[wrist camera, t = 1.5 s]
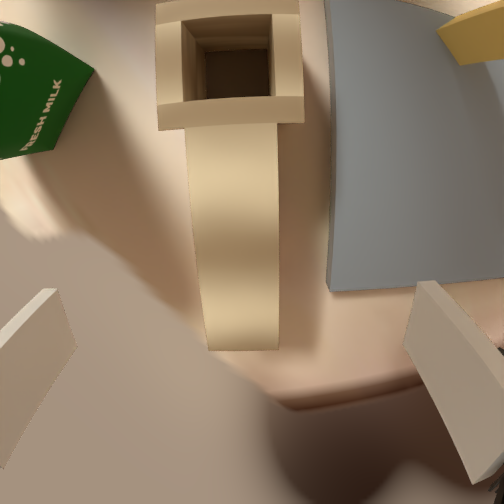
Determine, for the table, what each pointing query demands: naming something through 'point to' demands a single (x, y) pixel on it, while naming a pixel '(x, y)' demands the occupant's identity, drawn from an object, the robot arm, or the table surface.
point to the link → (232, 155)
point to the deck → (415, 144)
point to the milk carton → (35, 90)
